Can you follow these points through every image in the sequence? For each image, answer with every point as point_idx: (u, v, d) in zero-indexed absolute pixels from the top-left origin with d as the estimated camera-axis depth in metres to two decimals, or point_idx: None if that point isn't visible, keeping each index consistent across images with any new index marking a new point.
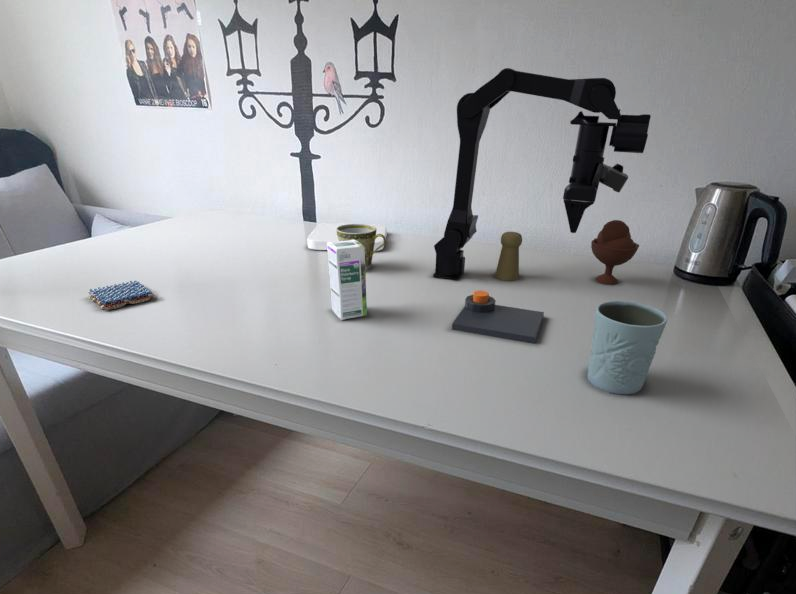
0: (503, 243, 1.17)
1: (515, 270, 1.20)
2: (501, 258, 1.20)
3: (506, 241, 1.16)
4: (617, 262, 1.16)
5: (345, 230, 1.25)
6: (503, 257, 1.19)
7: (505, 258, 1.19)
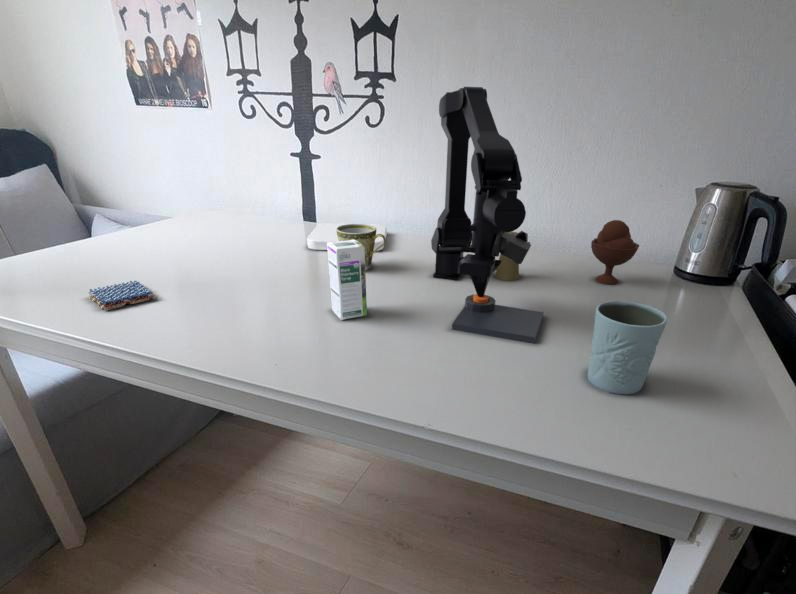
0: None
1: (515, 270, 1.20)
2: (501, 258, 1.20)
3: None
4: (617, 262, 1.16)
5: (345, 230, 1.25)
6: (503, 257, 1.19)
7: (505, 258, 1.19)
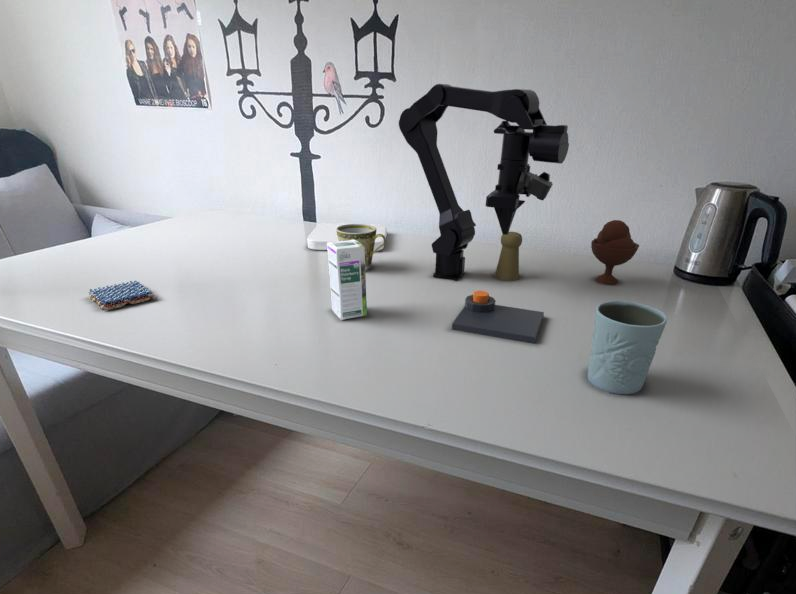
0: (503, 243, 1.17)
1: (515, 270, 1.20)
2: (501, 258, 1.20)
3: (506, 241, 1.16)
4: (617, 262, 1.16)
5: (345, 230, 1.25)
6: (503, 257, 1.19)
7: (505, 258, 1.19)
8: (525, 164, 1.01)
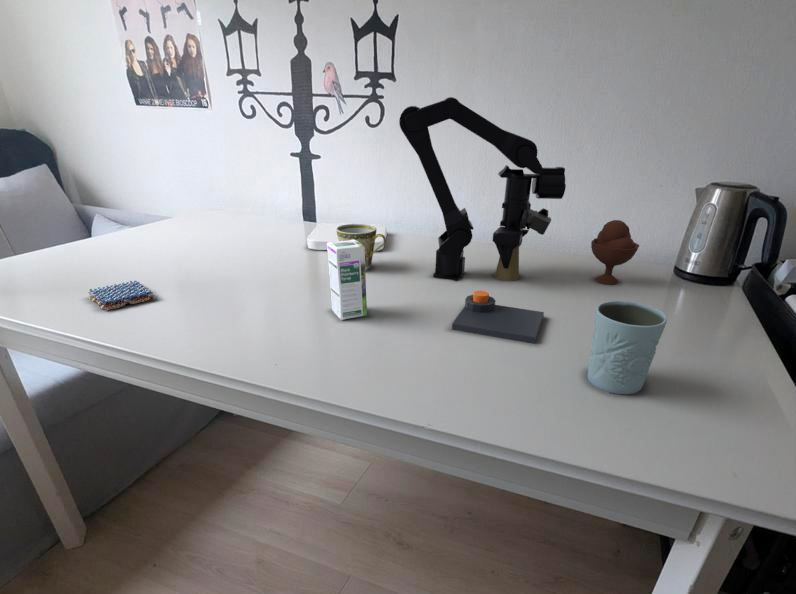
0: None
1: (515, 270, 1.20)
2: None
3: None
4: (617, 262, 1.16)
5: (345, 230, 1.25)
6: None
7: None
8: (527, 203, 1.12)
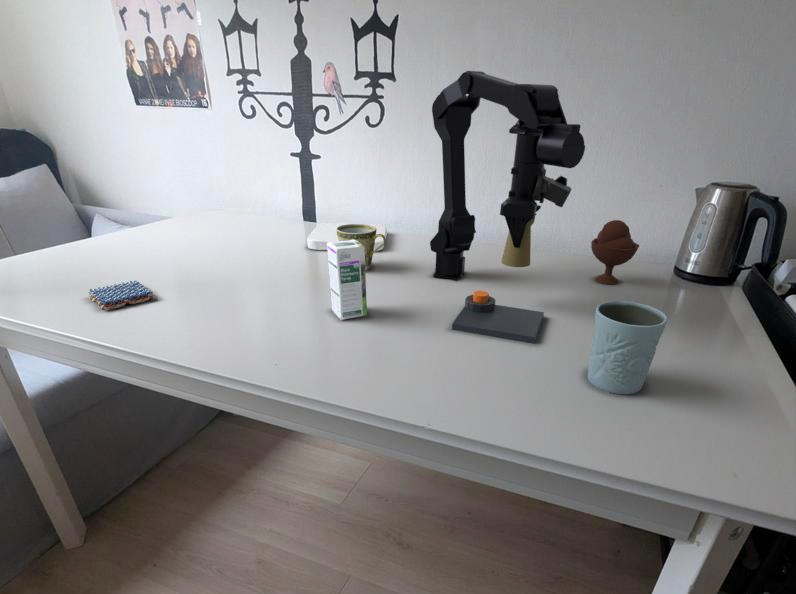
0: None
1: (526, 255, 0.99)
2: (509, 240, 0.98)
3: None
4: (617, 262, 1.16)
5: (345, 230, 1.25)
6: None
7: None
8: (542, 167, 0.91)
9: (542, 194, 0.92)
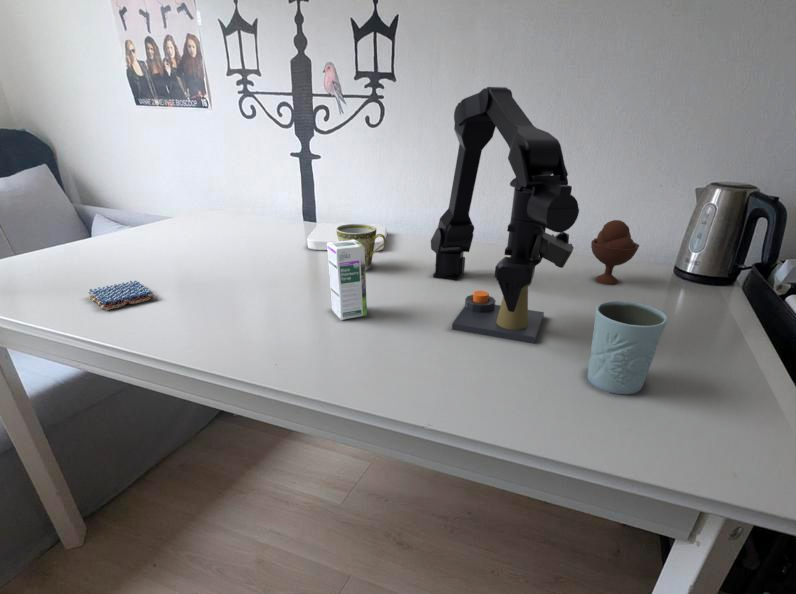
0: None
1: (523, 317, 0.92)
2: None
3: None
4: (617, 262, 1.16)
5: (345, 230, 1.25)
6: None
7: None
8: (541, 225, 0.83)
9: (541, 254, 0.84)
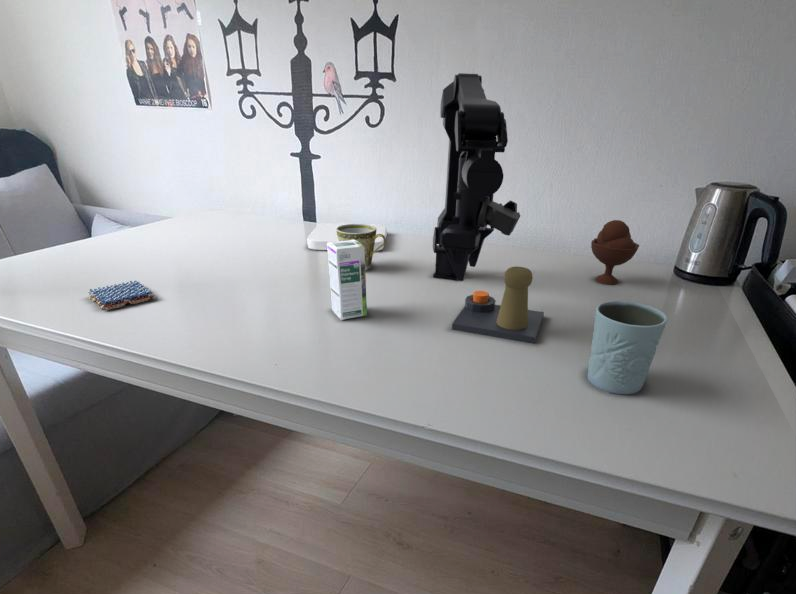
0: (507, 282, 0.89)
1: (523, 317, 0.92)
2: (505, 301, 0.91)
3: (511, 280, 0.88)
4: (617, 262, 1.16)
5: (345, 230, 1.25)
6: (507, 300, 0.91)
7: (509, 301, 0.90)
8: None
9: (487, 221, 0.84)
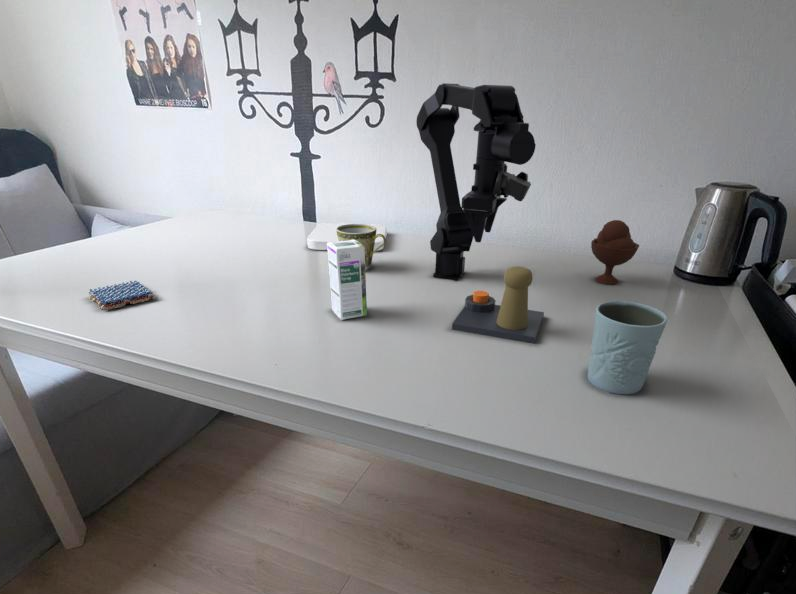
0: (507, 282, 0.89)
1: (523, 317, 0.92)
2: (505, 301, 0.91)
3: (511, 280, 0.88)
4: (617, 262, 1.16)
5: (345, 230, 1.25)
6: (507, 300, 0.91)
7: (509, 301, 0.90)
8: (502, 164, 0.96)
9: (502, 189, 0.97)
